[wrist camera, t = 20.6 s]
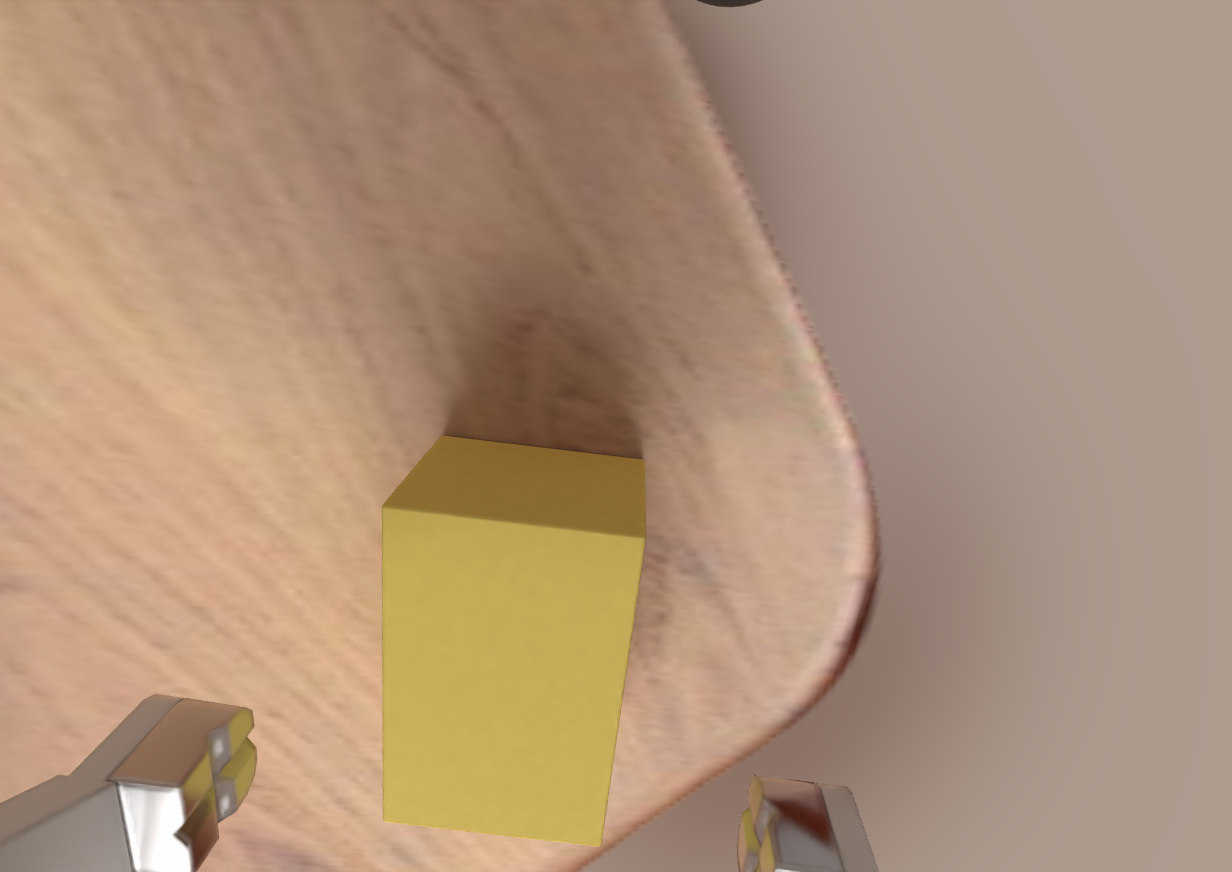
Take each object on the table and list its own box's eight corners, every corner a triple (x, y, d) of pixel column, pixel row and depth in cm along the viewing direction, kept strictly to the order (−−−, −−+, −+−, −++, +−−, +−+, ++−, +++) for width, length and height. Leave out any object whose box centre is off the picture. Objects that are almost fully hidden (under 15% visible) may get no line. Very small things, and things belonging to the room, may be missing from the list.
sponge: (440, 434, 16) (380, 504, 12) (644, 458, 16) (646, 537, 13) (433, 698, 19) (381, 823, 15) (608, 719, 19) (601, 848, 15)
